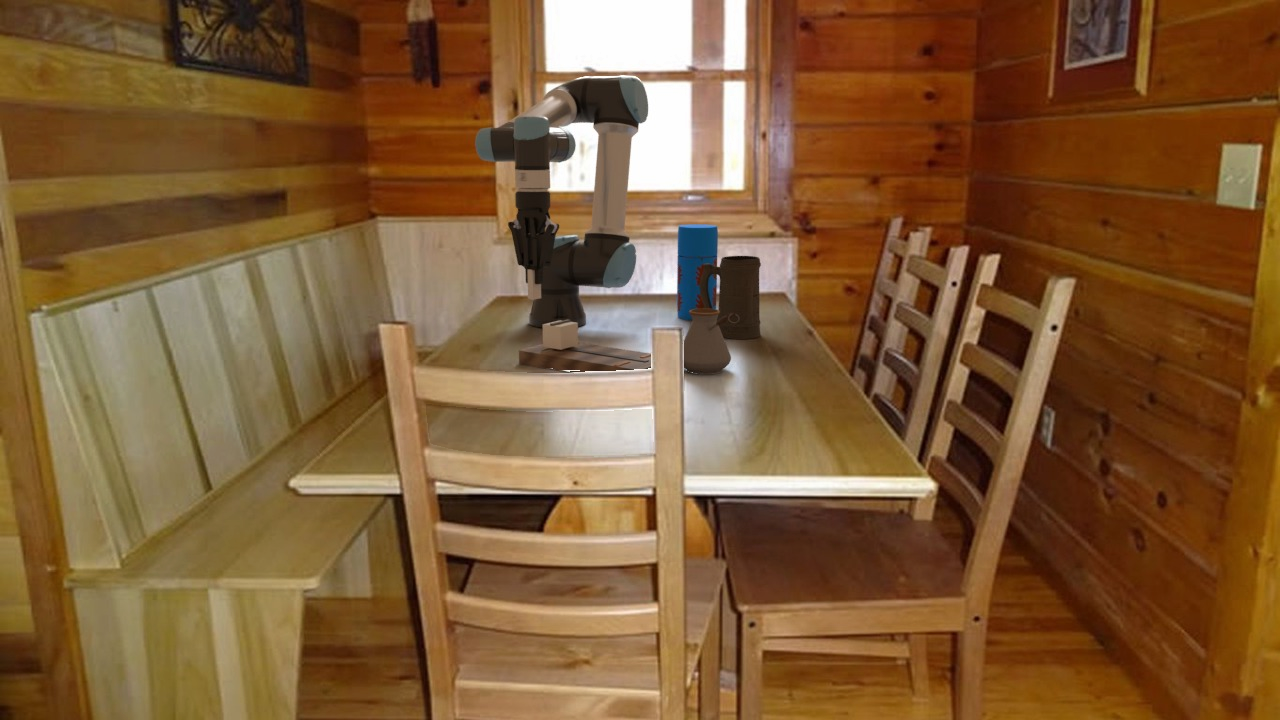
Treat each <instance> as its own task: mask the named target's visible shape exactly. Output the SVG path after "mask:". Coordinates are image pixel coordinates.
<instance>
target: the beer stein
mask: <svg viewBox="0 0 1280 720" xmlns="http://www.w3.org/2000/svg"><path fill="white" fill-rule="evenodd" d="M761 266H762V265H761V258H760V257H759V256H753V255H729V256H728V255H727V256H722V258H721V260H720V263H719V266H718V265H717V266H713V265H712V264H710V263H707V264H704V271H703V274H702V277H701V280H700V295H701V298H702V301H703V304H704V306H705V308H707V309H713V308H712V305H711V302H710V297H709V292H708V281H709V277H710V276H711V275H712V274H717V276H718V277H719V291H718V293H719V295H718V309H717V310H719V311H720V313H719V314H718V317H717V321H718V320H720V319H721V318H722V317H723V316H727V314H731V313H735V314H736V315H735V316H734V317H733V318H732V319H731V320H730V321H731V322H734V323H731V322H730V321H729V320H728V321H727V322H726V323H723V324H721V325H719V328H720V330H721V333H722V335H723V338H724V339H731V340H751V339H756V338H759V337H760V336H761V326H760V325H761V320H760V318H761V316H760V269H761ZM737 315H738V316H739V318H738V316H737ZM738 320H739V321H738ZM737 321H738V322H737ZM735 322H736V323H735Z"/></svg>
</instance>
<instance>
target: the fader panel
mask: <svg viewBox="0 0 1280 720" xmlns="http://www.w3.org/2000/svg"><path fill="white" fill-rule="evenodd" d="M651 353H652V352H642V351H637V350H630V349H623V348H617V347H610V346H605V345H599V344H592V343H591V344H590V343H585V342H584V343H583V342H579V341H578V345H576V346H572V347H569V348H565V349H562V350H559V349H553V348H547V347H543V343H542V344H538V345H534V346H530V347H527V348H523V349H520V350H519V349H518V363H519V365H525V366H530V367H536V368H541V369H546V368H553V369H555V370H554V371H557V370H580V371H570V372H585V371H616V370H634V369H648V368H651Z"/></svg>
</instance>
